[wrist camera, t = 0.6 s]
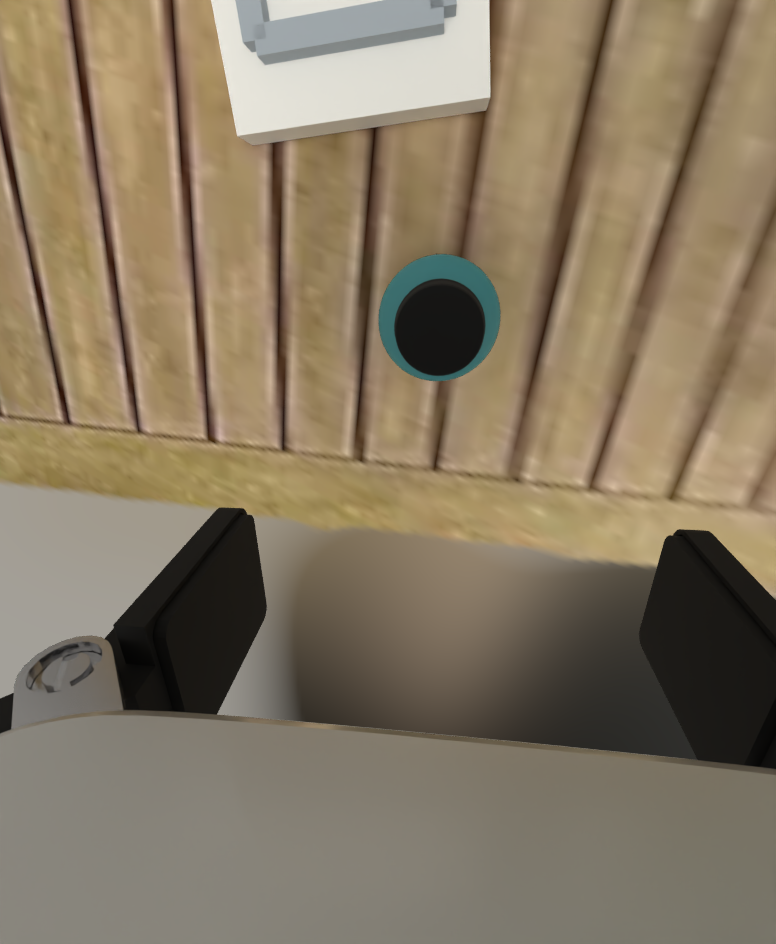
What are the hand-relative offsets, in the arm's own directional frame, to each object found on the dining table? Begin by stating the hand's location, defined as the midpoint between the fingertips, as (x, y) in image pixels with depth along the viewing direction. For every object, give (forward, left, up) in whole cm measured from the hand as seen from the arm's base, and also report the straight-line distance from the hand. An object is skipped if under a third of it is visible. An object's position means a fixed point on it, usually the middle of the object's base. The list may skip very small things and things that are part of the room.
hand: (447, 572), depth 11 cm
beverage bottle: (0, -4, -32) cm, 32 cm away
